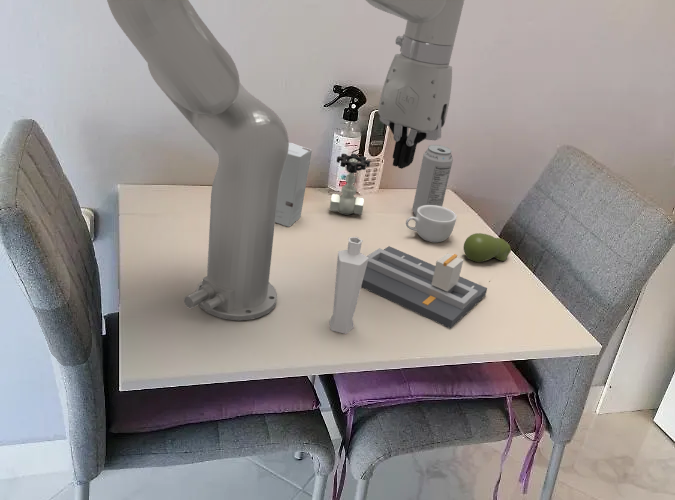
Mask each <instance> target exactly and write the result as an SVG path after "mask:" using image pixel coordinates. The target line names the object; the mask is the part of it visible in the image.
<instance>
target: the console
mask: <svg viewBox="0 0 675 500" xmlns="http://www.w3.org/2000/svg"><path fill="white" fill-rule="evenodd" d="M366 256H367V257H368V258H369V259H368V263H367V266H366V270H365V274H364V278H363V282H362V285H361V288H363V289H365V290H368V291H369V292H371V293H374V294H376V295H378V296H380V297H382V298H384V299H387V300H389V301H391V302H393V303H394V304H397V305H400V306H401V307H404V308H405V309H407V310H409V311H413V312H414V313H416V314H418V315H421V316H423V317H425V318H427V319H430V321H431V320H432V321H433V322H435V323H438V324H440V325H442V326H444V327H447V328H448V329H452V328H453V327H454V326H455V325H456V324H457V323H458V322H459V321H460V320H461V319H462V318H463V317H464V316H465V315H467V313H469V311H471V310H472V309H473V308H474V307H475V306H476V305H477V304H478V303H479V302H480V301H481V300H482V299H484V298H485V297H486V296H487V295H486V294H487V292H488V287H485V286H483V285H481V284H478V283H476V282H474V281H471V280H470V279H467V278H465V277H463V276H459V280H458V283H457V284H456V285H455V287H454V290H453V291H452V292H451V293H449V292H446V291H444V290H442V289H439V288H437V287H435V286H433V285H431V284H432V279H433V275H434V271H435V267H436V265H434V264H432V263H430V262H427V261H425V260H422V259H420V258H418V257H415V256H413V255H411V254H409V253H406V252H404V251H401V250H399V249H397V248H394V247H392V246H390V245H388V246H387V247H385V248H384V249H383V248H380V247H379V248H377V249H376V250H374V251H373V252H371V253H369V254H368V255H366Z"/></svg>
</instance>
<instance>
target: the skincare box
mask: <svg viewBox="0 0 675 500" xmlns="http://www.w3.org/2000/svg"><path fill="white" fill-rule="evenodd" d="M312 152H313V150H312V149H311V148H308V147H305V146H301V145H299V144H296V143H293V142H289V148H288V154H287V158H286V162H285V165H284V168H283V171H282V175H281V179H280V184H279V189H278V196H277V205H276V216H275V224H276V223H277V224H278V225H282V226H284V227H291V226H292V225H293V224H295V223H296V222H297V221H298V220H299V219H300V218H301V217H302V211H303V204H304V198H305V194H306V187H307V182H308V175H309V169H310V163H311V159H312V157H311V156H312ZM295 221H296V222H295Z"/></svg>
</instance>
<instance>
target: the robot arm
mask: <svg viewBox="0 0 675 500" xmlns="http://www.w3.org/2000/svg"><path fill="white" fill-rule="evenodd" d="M365 1H366V2H367V3H368V4H369V5H370V6H372V7H373V8H375V9H378V10H380V11H383V12H385V13H387V14H389V15H393V16H396V17H398V18H401V19H403V20H405V21H406V24H405V25H406V26H405V30H404V33H403V35H402V36H401V35H398V36H396V38H395V44H396V45H397V46H399V47H400V49H399V51H400V53H396V54H395V55H394V57H393V59H392V61H391V63H390V66H389V68H388V71H387V74H386V77H385V80H384V83H383V87H382V91H381V94H380V99H379V103H378V107H377V113H378V115H379V117H378V118H379V121H380V122H381V123H383V124H384V125H385V126H387V127H389V129H390V131H391V133H392V135H393V141H395V144H394V149H393V153H392V159H393V162H392V166H393V167H398V169H402V170H403V169H405V168H407V167H409V166H410V165H411V164H412V163H413V162H414V158H415V154H416V148H417V145H418V144H420V143H421V142H423V141H424V140H425V141H426V140H427V141H438V140H441V138H442V129H443V127H444V125H445V123H446V121H447V115H448V111H449V106H450V100H451V93H452V83H453V67H452V66H451V65H450V63H451V58H452V55H453V50H454V46H455V40H456V37H457V33H458V29H459V28H458V27H459V25H460V20H461V17H462V11H463V6H464V4H465V3H464V2H465V0H365ZM106 2H107V4H108V7H109V10H110V13H111V15H112V16H113V19H114V20H115V22H116V23H117V24H118V26H119V28H120V29H121V30H122V32H123V33H124V34H125V36H126V38H128V39H129V41H130V42H131V43H132V45H133V46H134V47H135V49H136V50H137V51H138V53H139V54H140V55H141V56H142V58H143V59H144V61H146V63H147V67H148V71H149V74H150V75H151V77H152V79H153V80H154V82H155V84H156V85H157V86H158V87H159V88H160V90H161V91H162V92H163V93H164V94H165V96H166V97H167V98H168V99H169V100H170V102H171V103H172V104H173V105H174V106H175V107H176V108H177V110H178V111H179V112H180V113H181V115H183V116H184V118H186V120H187V121H188V123H189V124H190V125H191V126H192V127H193V128H194V129H195V130H196V131H197V133H198V134H199V135H200V136H201V137H202V138H203V139H204V140H205V141H206V143H208V145H210V147H211V148H212V149H213V150H214V151H215V152H216V153H217V157H218V164H217V169H216V171H215V174H214V177H213V181H212V185H211V193H210V214H209V215H210V216H209V229H208V231H209V233H208V251H207V265H206V266H207V271H206V276H204V277H202V280H201V281H200V282H199V283H198V284H197V287H196V288H195V291H194V292H192V293H190V294H188V295H186V296H185V297H184V298H183V303H184V305H185V306H186V307H187V308H188V309H194V308H195V307H197V306H199V307H200V308H201V309H202V310H203V311H205V312H206V313H208V314H210V315H212V316H213V317H215V318H219V319H225V320H230V321H249V320H255V319H258V318H261V317H264V316H265V315H268V313H271V311H273V309H274V308H275V307H276V305H277V301H278V293H277V289H276V288H275V286H274V285H273V284H271V283H270V274H271V273H270V271H271V262H272V253H273V243H274V234H275V226H276V222H275V216H276V205H277V196H278V189H279V184H280V179H281V175H282V171H283V168H284V165H285V162H286V158H287V154H288V148H289V141H290V140H289V134H288V130H287V128H286V126H285V123H284V122H283V120H282V119H281V118H280V117H279V116H278V114H277V113H276V112H275V111H274V110H272V109H271V108H270V107H269V106H268V105H267V104H265V103H264V102H262V101H261V100H260V99H259V98H257V97H255V96H254V94H253V95H252V93H250V92H249V91H248V90H247V89H246V88H245V86H243V85H242V83H241V82H240V75H239V71H238V68H237V65H236V63H235V62H234V60H233V58H232V56H231V54H230V53H228V51H227V50H226V48H225V47H224V46H223V45H222V44H221V43H220V42H219V41H218V39H217V38H216V37H215V35H214V34H213V32H211V30H210V29H209V28H208V26H207V25H206V24H205V22H204V21H203V19H202V18H201V17H200V15H199V14H198V12H197V11H196V10H195V8H194V6H193V5H192V3H191V2H190V0H106ZM409 129H410V130H409Z"/></svg>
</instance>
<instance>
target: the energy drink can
mask: <svg viewBox="0 0 675 500" xmlns="http://www.w3.org/2000/svg"><path fill="white" fill-rule="evenodd" d="M452 152H453V151H452V149H451V148H449V147H448V146H445V145H441V144H430V145H428V146H427V149H426V151H424V153H423V156H422V159H421V164H420V165H421V166H420V169H419V170H420V171H419V174H418V180H417V185H416V190H415V195H414V200H413V204H412V208H411V209H412V212H413V215H414V217H416V214H417V209H418V208H419V207H420V206H423V205H437V206H442V207H443V206H444V205H443V204H444V200H445V196H446V192H447V188H448V183H449V178H450V174H451V170H452V165H453V160H454V159H453V155H452Z"/></svg>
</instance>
